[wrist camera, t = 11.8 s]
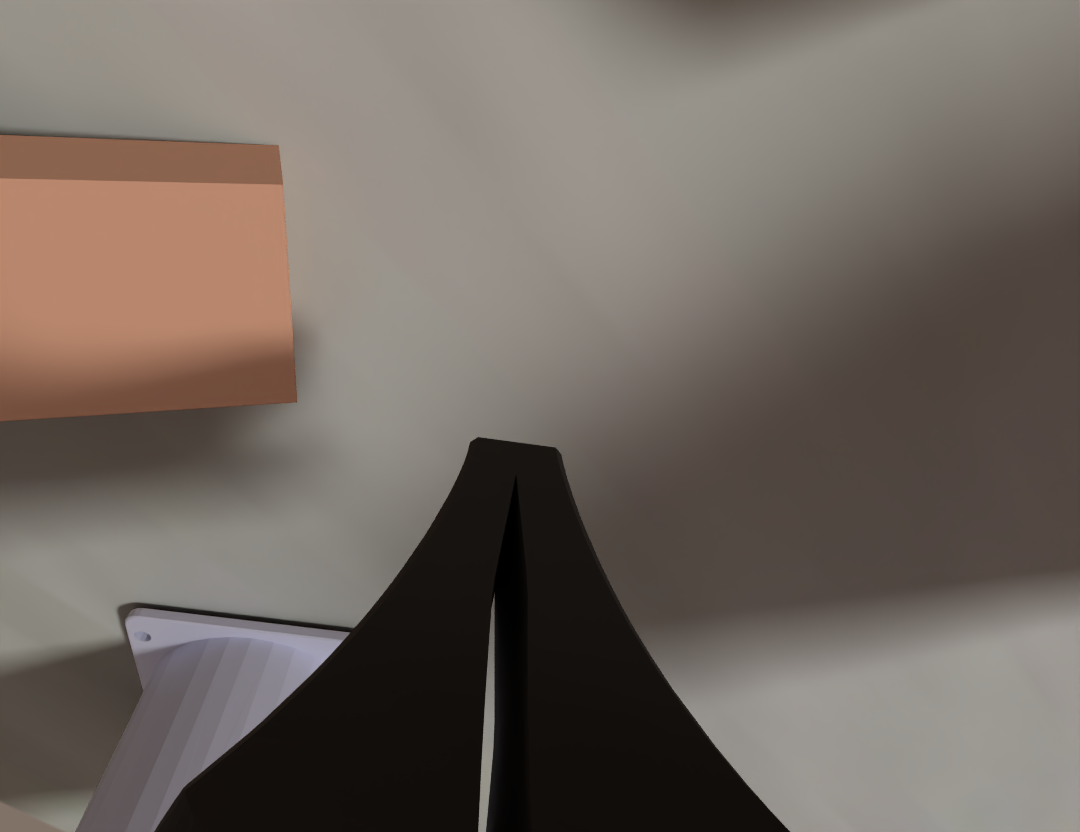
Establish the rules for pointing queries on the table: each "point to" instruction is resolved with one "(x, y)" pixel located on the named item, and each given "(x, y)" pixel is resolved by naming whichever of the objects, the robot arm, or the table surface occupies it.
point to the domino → (141, 277)
